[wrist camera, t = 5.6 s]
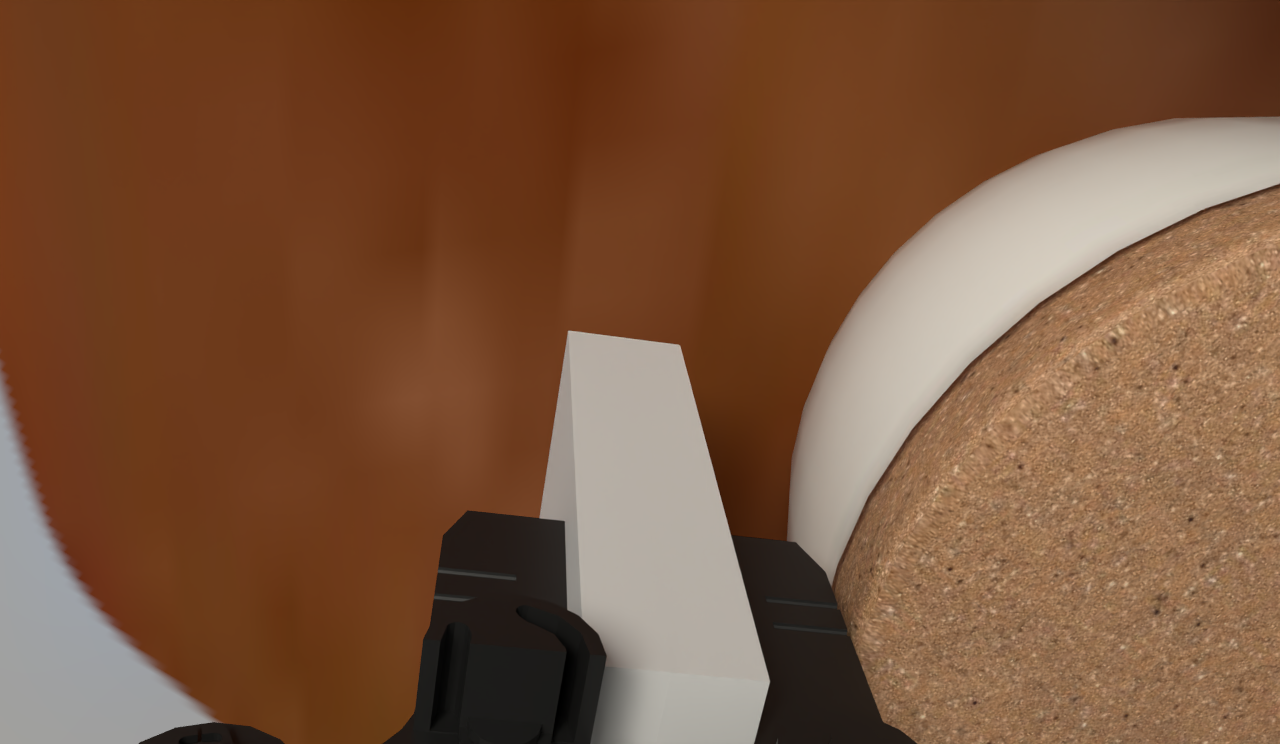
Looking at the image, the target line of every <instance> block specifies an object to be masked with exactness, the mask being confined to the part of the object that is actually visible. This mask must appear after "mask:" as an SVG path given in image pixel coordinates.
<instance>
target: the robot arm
mask: <svg viewBox="0 0 1280 744" xmlns="http://www.w3.org/2000/svg"><path fill="white" fill-rule="evenodd" d="M837 604H838V603H837V601H836V598H835V595H834V593H833V590H832V588H831V585H830V582H829V580H828V577H827V574H826V572H825V571H824V570H823V569H822V568H821V567H820V566H819V565H818V564H817V563H816V562H815V561H814V560H813V559H812V558H811V557H810V556H809V555H808V554H807V553H806V552H805V551H804V550H803V549H802V548H801V547H800V546H799V545H798V544H797V543H796V542H789V541H780V540H770V539H761V538H752V537H742V536H733V535H731V534H730V530H729V526H728V523H727V519H726V515H725V512H724V508H723V504H722V500H721V497H720V493H719V489H718V485H717V482H716V478H715V474H714V470H713V467H712V463H711V459H710V456H709V452H708V448H707V444H706V441H705V437H704V433H703V429H702V426H701V422H700V418H699V414H698V411H697V407H696V403H695V400H694V396H693V392H692V388H691V385H690V381H689V377H688V373H687V370H686V366H685V362H684V358H683V355H682V351H681V347H680V345H676V344H668V343H660V342H652V341H645V340H637V339H629V338H622V337H614V336H606V335H598V334H591V333H583V332H575V331H568V336H567V343H566V349H565V356H564V362H563V369H562V375H561V382H560V388H559V395H558V401H557V408H556V414H555V421H554V427H553V434H552V440H551V447H550V453H549V460H548V466H547V473H546V479H545V486H544V492H543V499H542V505H541V512H540V518H532V517H523V516H514V515H504V514H495V513H486V512H476V511H467V512H466V513H465V514H464V515H463V516H462V517H461V518H460V519H459V520H458V521H457V522H456V523H455V524H454V525H453V526H452V527H451V528H450V529H449V530H448V531H447V532H446V533H445V534H444V535H443V540H442V547H441V553H440V560H439V567H438V574H437V581H436V588H435V595H434V601H433V608H432V615H431V622H430V627H429V629H428V631H427V633H426V635H425V637H424V639H423V647H422V656H421V664H420V673H419V682H418V690H417V699H416V708H415V712H414V714H413V715H412V717H411V718H410V719H409V721H408V722H407V723H406V724H405V726H404V727H403V728H402V729H401V730H400V731H399V732H398V733H396V734H395V735H394V736H392V737H391V738H390V739H388V740H387V741H386V742H384V743H383V744H917V743H916V742H915V741H914V740H912V739H911V738H910V737H909V736H907V735H906V734H905V733H904V732H902V731H901V730H899V729H897V728H895V727H893V726H891V725H889V724H886V723H884V722H883V721H882V718H881V715H880V713H879V710H878V708H877V705H876V702H875V700H874V697H873V695H872V692H871V689H870V687H869V684H868V682H867V679H866V676H865V674H864V671H863V668H862V666H861V663H860V661H859V658H858V655H857V653H856V650H855V648H854V645H853V642H852V640H851V637H850V636H847V630H848V629H847V627H846V624H845V621H844V619H843V616H842V614H841V611H840V610H839V609H837ZM139 744H284V743H283V742H282V741H281V740H280V739H278V738H276V737H273V736H271V735H269V734H267V733H264V732H262V731H260V730H257V729H255V728H253V727H250V726H242V725H233V724H224V723H215V722H213V723H206V724H199V725H192V726H185V727H178V728H174V729H172V730H169V731H166V732H164V733H162V734H159V735H157V736H154V737H152V738H150V739H147V740H145V741H143V742H140V743H139Z"/></svg>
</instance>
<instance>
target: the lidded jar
mask: <svg viewBox="0 0 1280 744" xmlns="http://www.w3.org/2000/svg"><path fill="white" fill-rule="evenodd" d="M787 541H789V542H796V543H797V544H798V545H799V546H800V547H801V548H802V549H803V550H804V551H805V552H806V553H807V554H808V555H809V556H810V557H811V558H812V559H813V560H814V561H815V562H816V563H817V564H818V565H819V566H820V567H821V568H822V569H823V570H824V571H825V572H826V574H827V577H828V580H829V582H830V585H831V588H832V590H833V593H834V595H835V598H836V601H837V603H838V604H837V609H839V610H840V611H841V614H842V616H843V619H844V621H845V624H846V627H847V629H848V630H847V636H850V637H851V640H852V642H853V645H854V648H855V650H856V653H857V655H858V658H859V661H860V663H861V666H862V668H863V671H864V674H865V676H866V679H867V682H868V684H869V687H870V689H871V692H872V695H873V697H874V700H875V702H876V705H877V708H878V710H879V713H880V715H881V718H882V721H883V722H884V723H886V724H889V725H891V726H893V727H895V728H897V729H899V730H901V731H902V732H904V733H905V734H906V735H907V736H909V737H910V738H911V739H912V740H914V741H915V742H916V743H917V744H1280V117H1211V118H1174V119H1169V120H1163V121H1157V122H1152V123H1146V124H1141V125H1135V126H1130V127H1124V128H1118V129H1113V130H1110V131H1107V132H1104V133H1101V134H1098V135H1095V136H1092V137H1089V138H1086V139H1083V140H1081V141H1078V142H1075V143H1072V144H1069V145H1066V146H1063V147H1060V148H1057V149H1054V150H1051V151H1048V152H1045V153H1042V154H1039V155H1036V156H1034V157H1032V158H1030V159H1028V160H1026V161H1024V162H1022V163H1020V164H1018V165H1016V166H1014V167H1012V168H1010V169H1008V170H1006V171H1004V172H1002V173H1000V174H998V175H996V176H994V177H992V178H990V179H988V180H986V181H984V182H983V183H981V184H980V185H978V186H977V187H975V188H974V189H972V190H971V191H970V192H968V193H967V194H965V195H964V196H962V197H961V198H959V199H958V200H957V201H955V202H954V203H952V204H951V205H949V206H948V207H946V208H945V209H944V210H942V211H941V212H939V213H938V214H936V215H935V216H934V217H933V218H932V219H931V220H930V221H929V222H927V223H926V224H925V225H924V226H923V227H922V228H921V229H920V230H919V231H918V232H917V233H915V234H914V235H913V236H912V237H911V238H910V239H909V240H908V241H907V242H906V243H905V244H903V245H902V246H901V247H900V248H899V249H898V250H897V251H896V252H895V253H894V254H893V255H892V256H891V257H890V259H889V260H888V261H887V262H886V263H885V265H884V266H883V267H882V268H881V270H880V271H879V272H878V273H877V274H876V276H875V277H874V278H873V279H872V281H871V282H870V283H869V284H868V285H867V287H866V288H865V289H864V290H863V291H862V293H861V294H860V295H859V297H858V298H857V300H856V302H855V303H854V305H853V306H852V308H851V310H850V311H849V313H848V315H847V316H846V318H845V320H844V321H843V323H842V325H841V326H840V328H839V330H838V331H837V333H836V335H835V336H834V338H833V340H832V341H831V344H830V346H829V348H828V350H827V352H826V355H825V357H824V359H823V362H822V364H821V367H820V369H819V372H818V374H817V376H816V379H815V381H814V384H813V386H812V389H811V391H810V393H809V396H808V398H807V401H806V403H805V405H804V409H803V413H802V417H801V421H800V426H799V430H798V434H797V438H796V443H795V447H794V451H793V455H792V464H791V480H790V497H789V514H788V532H787Z"/></svg>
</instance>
